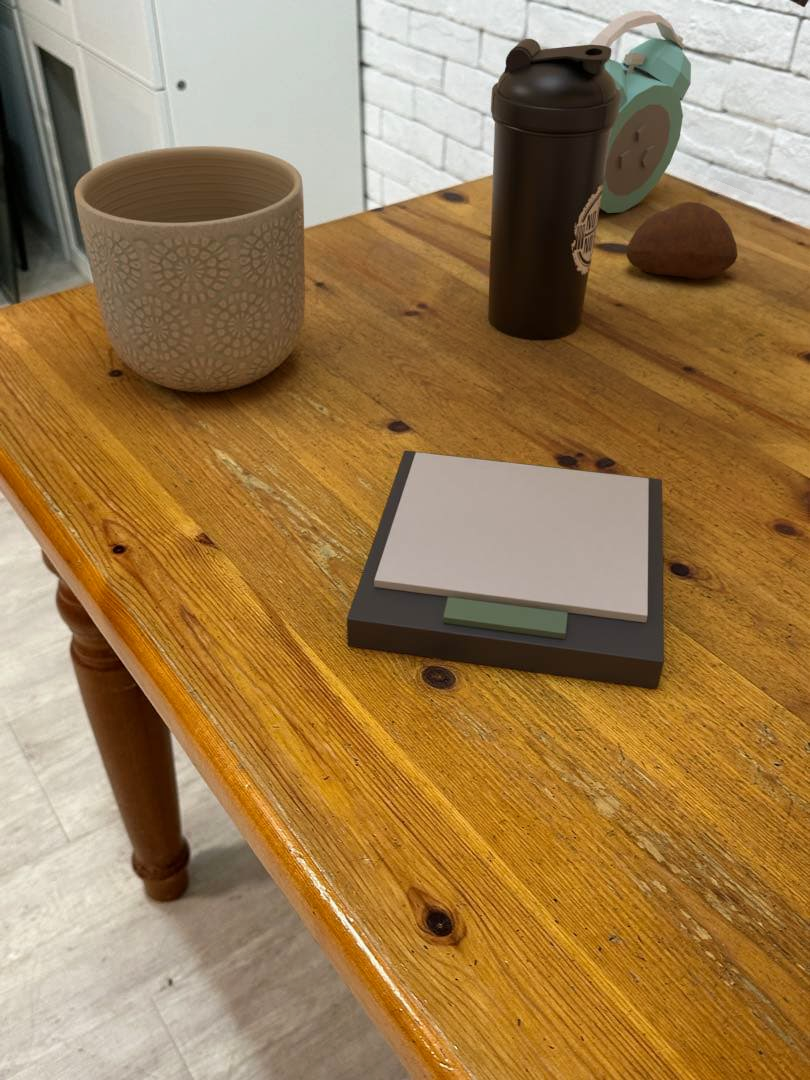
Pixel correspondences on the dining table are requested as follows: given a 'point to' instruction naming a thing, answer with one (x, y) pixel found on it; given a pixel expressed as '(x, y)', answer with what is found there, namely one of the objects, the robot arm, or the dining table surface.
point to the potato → (683, 242)
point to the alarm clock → (643, 110)
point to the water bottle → (547, 184)
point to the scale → (517, 569)
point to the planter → (197, 262)
